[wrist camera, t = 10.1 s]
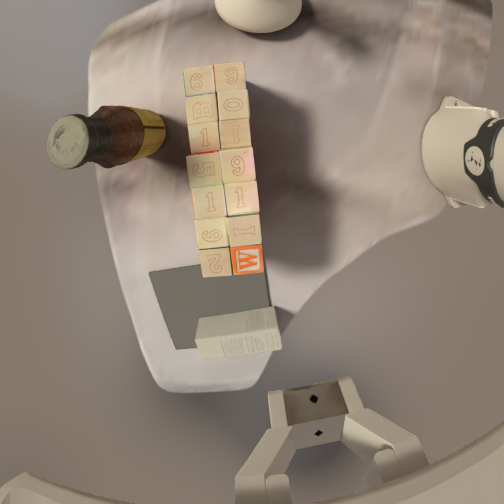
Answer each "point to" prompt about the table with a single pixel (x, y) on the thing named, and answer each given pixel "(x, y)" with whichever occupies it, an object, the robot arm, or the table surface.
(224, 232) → the stack of blocks
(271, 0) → the flower in vase
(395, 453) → the robot arm
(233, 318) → the skincare box
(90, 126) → the sauce bottle
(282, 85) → the table surface
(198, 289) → the placemat
